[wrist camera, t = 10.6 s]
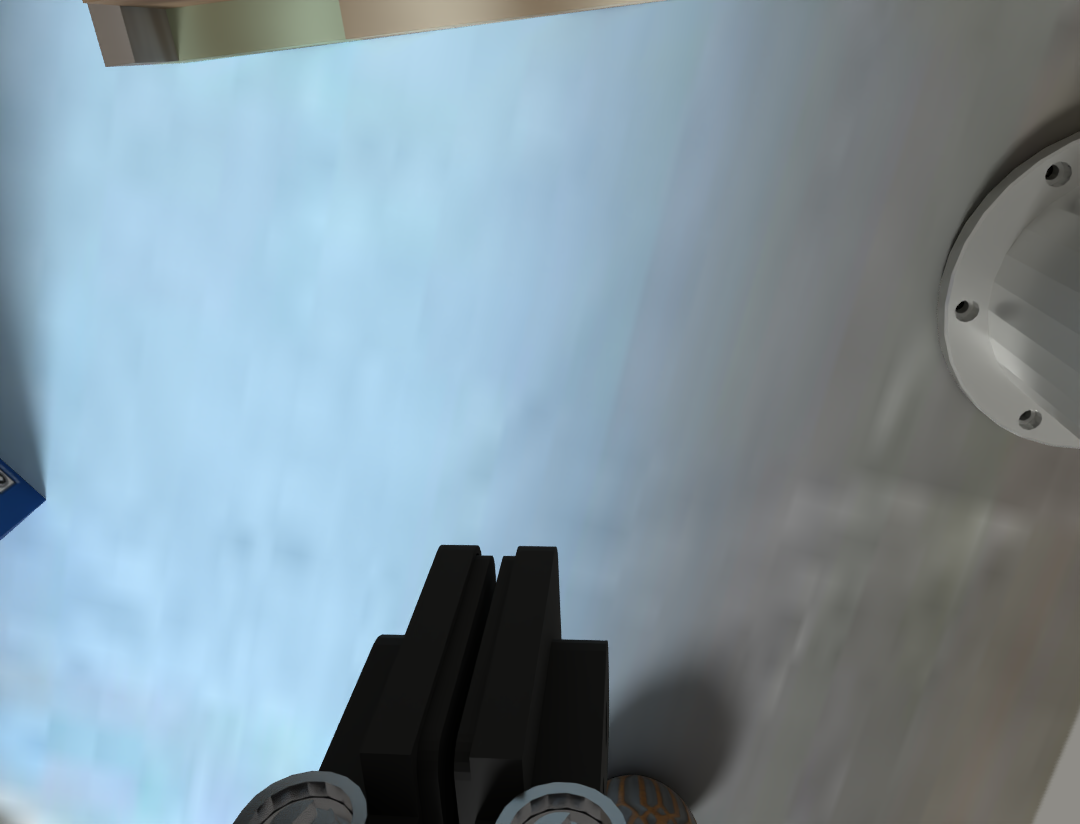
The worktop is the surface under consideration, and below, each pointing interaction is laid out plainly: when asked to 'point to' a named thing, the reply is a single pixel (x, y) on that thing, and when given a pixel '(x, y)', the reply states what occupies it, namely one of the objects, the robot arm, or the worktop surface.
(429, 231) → the worktop surface
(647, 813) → the vase
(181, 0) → the walnut block
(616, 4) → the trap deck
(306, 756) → the worktop surface
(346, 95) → the worktop surface
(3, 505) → the pasta box
